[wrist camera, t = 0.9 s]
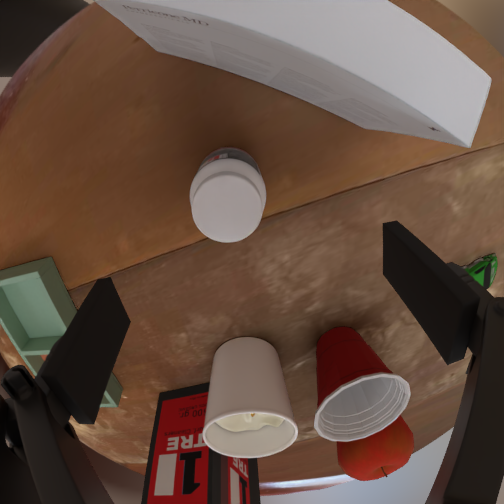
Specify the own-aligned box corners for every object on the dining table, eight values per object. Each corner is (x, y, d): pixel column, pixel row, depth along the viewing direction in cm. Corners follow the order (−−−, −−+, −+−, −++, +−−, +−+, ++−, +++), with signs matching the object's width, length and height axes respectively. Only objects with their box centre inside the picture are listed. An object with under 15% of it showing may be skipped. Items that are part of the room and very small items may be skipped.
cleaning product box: (255, 437, 48) (263, 542, 30) (208, 445, 49) (205, 545, 31) (215, 381, 41) (211, 517, 23) (159, 392, 42) (139, 517, 24)
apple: (340, 385, 43) (364, 465, 31) (406, 380, 45) (439, 449, 32) (318, 430, 49) (333, 499, 36) (378, 424, 50) (400, 486, 37)
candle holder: (296, 367, 41) (311, 442, 30) (232, 392, 43) (233, 465, 32) (262, 319, 37) (273, 400, 26) (192, 349, 39) (182, 428, 28)
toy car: (495, 249, 35) (505, 256, 33) (494, 276, 37) (503, 284, 35) (441, 275, 36) (450, 284, 34) (442, 303, 38) (450, 312, 36)
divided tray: (-7, 272, 33) (-21, 285, 29) (51, 256, 32) (37, 271, 29) (65, 389, 42) (58, 405, 39) (123, 389, 42) (117, 407, 39)
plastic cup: (388, 309, 38) (429, 376, 27) (361, 370, 42) (387, 436, 31) (307, 305, 37) (332, 382, 26) (288, 370, 41) (302, 444, 30)
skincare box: (384, 82, 26) (497, 80, 12) (364, 129, 28) (468, 161, 14) (175, 1, 22) (124, -80, 8) (154, 51, 24) (76, 6, 10)
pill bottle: (187, 166, 29) (165, 195, 20) (239, 134, 28) (241, 148, 19) (219, 215, 31) (213, 263, 22) (270, 186, 30) (286, 223, 21)
